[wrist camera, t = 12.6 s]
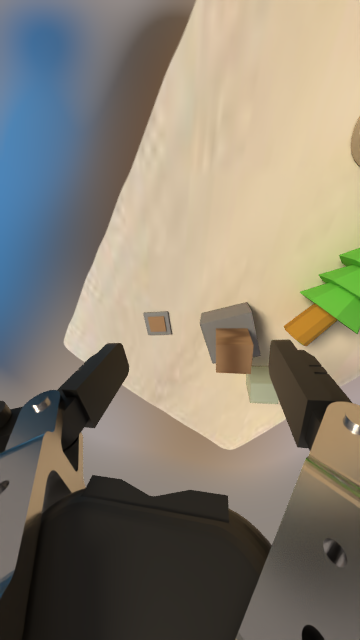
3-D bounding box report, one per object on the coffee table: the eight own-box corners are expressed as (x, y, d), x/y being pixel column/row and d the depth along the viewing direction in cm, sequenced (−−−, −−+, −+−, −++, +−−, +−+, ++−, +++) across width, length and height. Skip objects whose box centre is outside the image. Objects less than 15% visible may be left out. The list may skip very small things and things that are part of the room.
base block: (246, 301, 38) (251, 312, 33) (254, 340, 42) (260, 355, 37) (201, 312, 41) (199, 324, 36) (212, 348, 45) (212, 363, 39)
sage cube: (272, 366, 44) (280, 384, 38) (270, 384, 46) (278, 404, 41) (246, 365, 45) (250, 383, 40) (246, 384, 48) (250, 402, 42)
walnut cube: (247, 328, 35) (253, 345, 29) (245, 354, 37) (250, 374, 32) (215, 328, 36) (216, 344, 30) (215, 353, 38) (216, 372, 33)
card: (167, 311, 42) (166, 312, 42) (171, 333, 45) (170, 334, 44) (143, 312, 44) (142, 313, 43) (148, 334, 46) (147, 335, 45)
